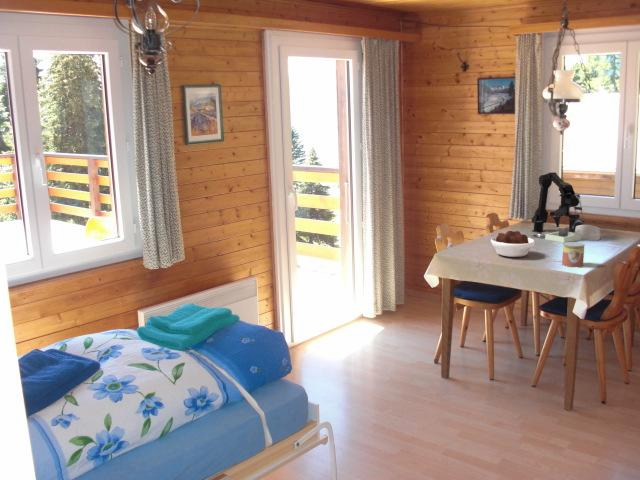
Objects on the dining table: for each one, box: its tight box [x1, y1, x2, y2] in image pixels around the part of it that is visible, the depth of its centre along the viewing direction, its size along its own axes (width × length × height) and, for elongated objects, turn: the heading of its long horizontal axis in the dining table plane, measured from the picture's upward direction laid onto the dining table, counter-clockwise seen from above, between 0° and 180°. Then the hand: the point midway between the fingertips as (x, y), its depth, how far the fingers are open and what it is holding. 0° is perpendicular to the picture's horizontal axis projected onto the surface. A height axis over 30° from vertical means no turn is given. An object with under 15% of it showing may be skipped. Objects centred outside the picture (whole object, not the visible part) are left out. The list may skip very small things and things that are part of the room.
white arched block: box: [573, 224, 601, 241], centre depth 474 cm, size 17×5×10 cm, turn 59°
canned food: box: [561, 241, 585, 268], centre depth 402 cm, size 11×11×12 cm
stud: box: [530, 232, 546, 239], centre depth 480 cm, size 9×9×2 cm
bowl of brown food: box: [490, 230, 536, 258], centre depth 426 cm, size 25×25×15 cm
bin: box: [544, 231, 582, 244], centre depth 469 cm, size 18×14×4 cm
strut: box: [558, 225, 569, 237], centre depth 468 cm, size 4×4×8 cm
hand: (563, 228), depth 467 cm, fingers open, 9 cm apart
